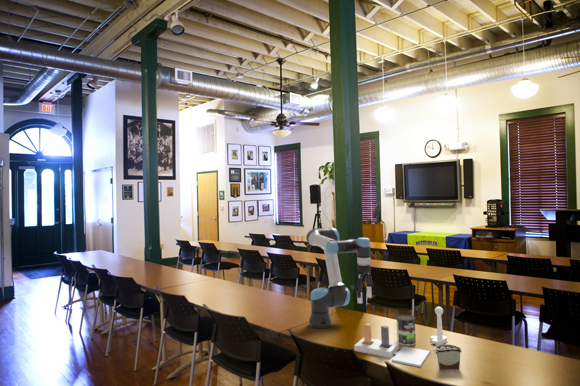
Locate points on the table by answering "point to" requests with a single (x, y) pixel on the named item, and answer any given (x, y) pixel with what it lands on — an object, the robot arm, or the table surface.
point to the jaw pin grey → (385, 336)
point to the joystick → (439, 329)
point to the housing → (376, 348)
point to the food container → (448, 357)
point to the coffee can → (406, 330)
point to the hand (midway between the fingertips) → (364, 300)
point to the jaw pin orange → (367, 334)
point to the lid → (411, 356)
